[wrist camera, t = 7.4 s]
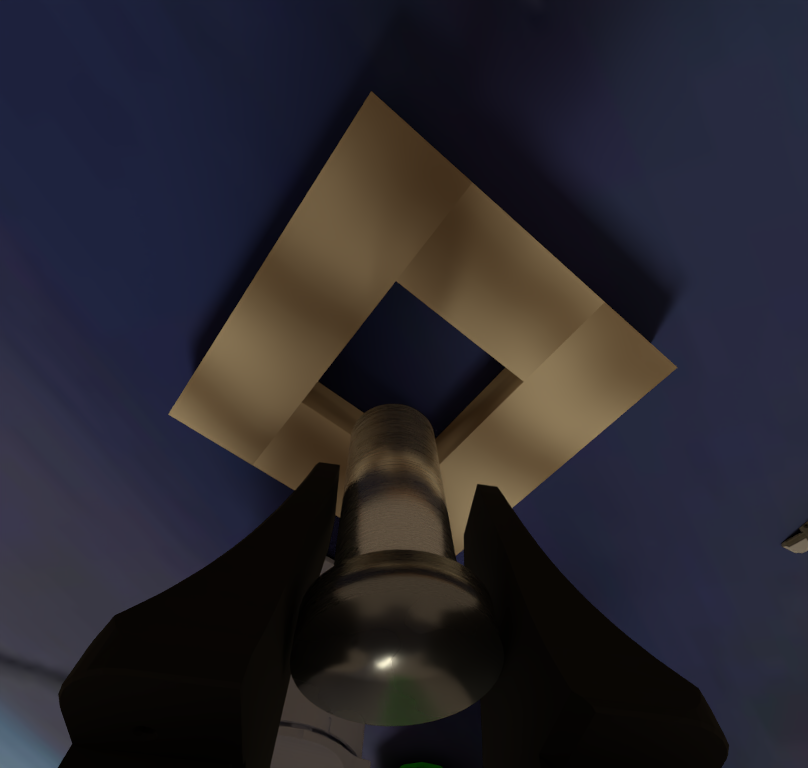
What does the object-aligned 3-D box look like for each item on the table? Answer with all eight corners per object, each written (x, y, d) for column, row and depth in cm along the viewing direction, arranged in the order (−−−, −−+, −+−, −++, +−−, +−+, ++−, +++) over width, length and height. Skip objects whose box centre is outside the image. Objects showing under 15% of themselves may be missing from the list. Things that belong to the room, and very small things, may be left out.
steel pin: (402, 504, 17) (414, 746, 10) (310, 450, 16) (249, 683, 9) (475, 430, 16) (548, 650, 9) (380, 365, 15) (374, 559, 7)
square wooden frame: (432, 540, 27) (433, 574, 25) (193, 390, 23) (168, 414, 21) (649, 346, 21) (677, 367, 19) (377, 101, 17) (371, 91, 15)
